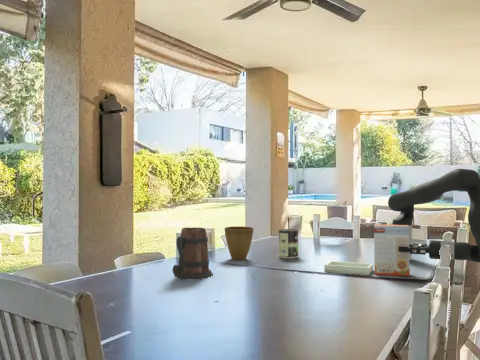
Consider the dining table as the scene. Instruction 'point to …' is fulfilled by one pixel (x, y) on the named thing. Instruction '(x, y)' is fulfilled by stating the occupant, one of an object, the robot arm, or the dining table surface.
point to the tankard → (192, 254)
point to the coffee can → (288, 243)
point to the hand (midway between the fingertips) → (399, 247)
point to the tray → (348, 267)
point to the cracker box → (391, 250)
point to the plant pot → (238, 241)
